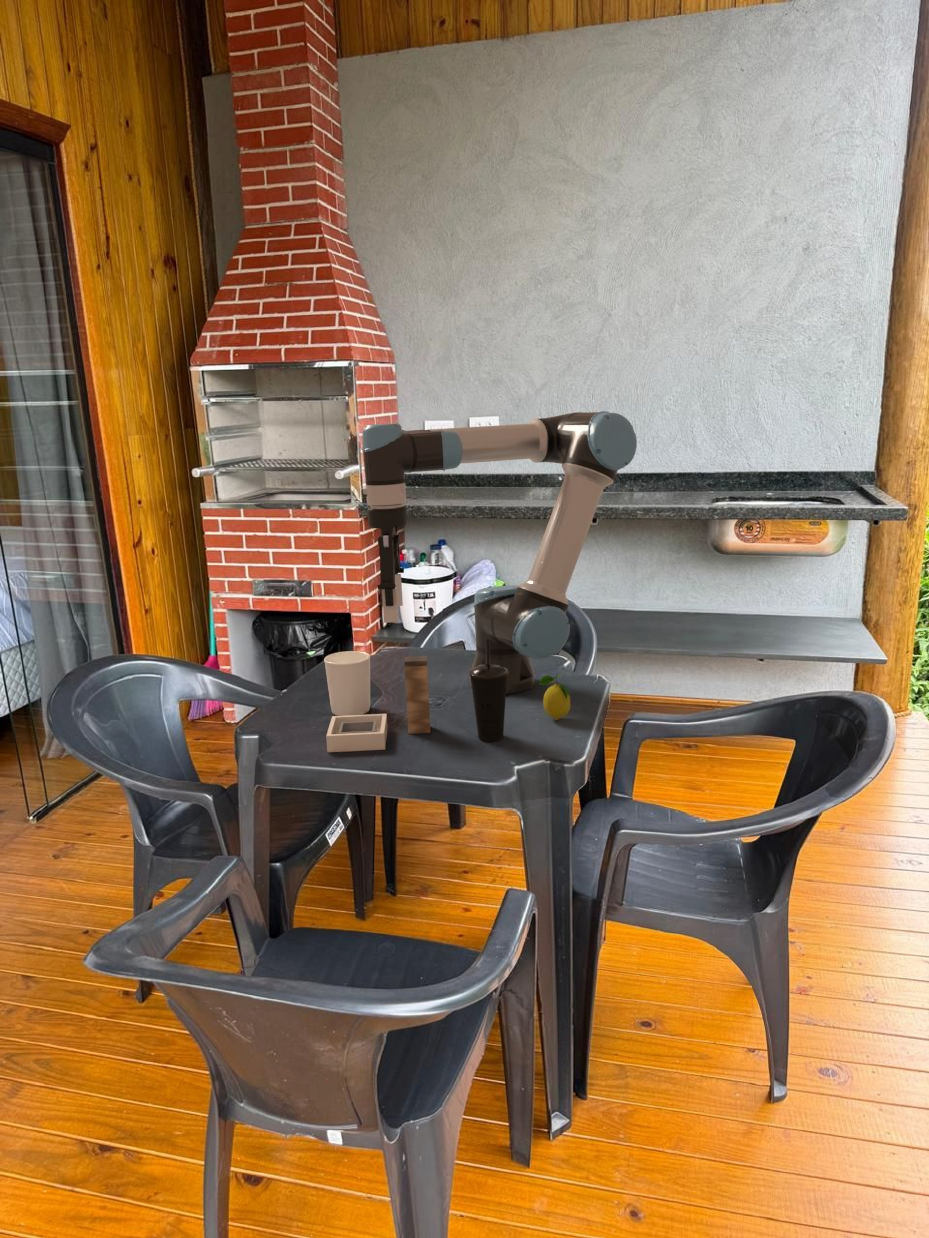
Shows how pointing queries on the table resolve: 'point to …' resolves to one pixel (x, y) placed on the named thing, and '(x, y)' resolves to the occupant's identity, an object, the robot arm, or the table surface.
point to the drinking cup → (489, 698)
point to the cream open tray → (357, 733)
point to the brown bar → (417, 694)
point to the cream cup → (348, 682)
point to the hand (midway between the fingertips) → (393, 613)
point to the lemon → (555, 698)
